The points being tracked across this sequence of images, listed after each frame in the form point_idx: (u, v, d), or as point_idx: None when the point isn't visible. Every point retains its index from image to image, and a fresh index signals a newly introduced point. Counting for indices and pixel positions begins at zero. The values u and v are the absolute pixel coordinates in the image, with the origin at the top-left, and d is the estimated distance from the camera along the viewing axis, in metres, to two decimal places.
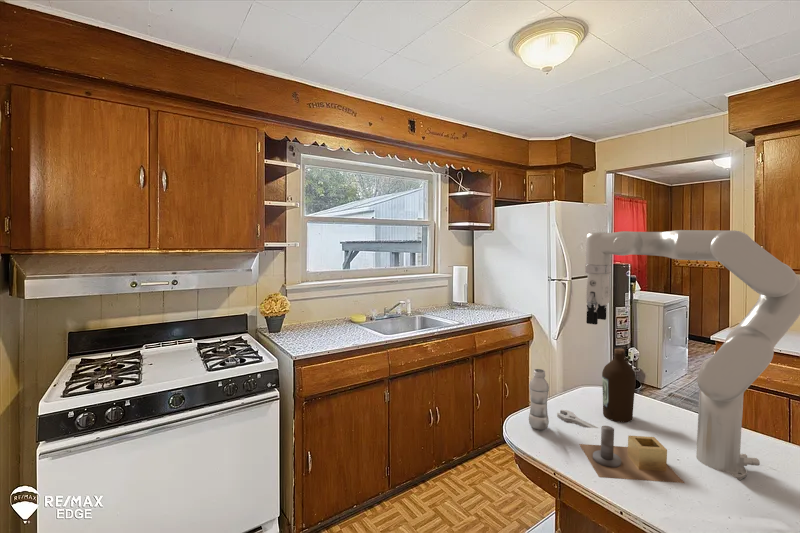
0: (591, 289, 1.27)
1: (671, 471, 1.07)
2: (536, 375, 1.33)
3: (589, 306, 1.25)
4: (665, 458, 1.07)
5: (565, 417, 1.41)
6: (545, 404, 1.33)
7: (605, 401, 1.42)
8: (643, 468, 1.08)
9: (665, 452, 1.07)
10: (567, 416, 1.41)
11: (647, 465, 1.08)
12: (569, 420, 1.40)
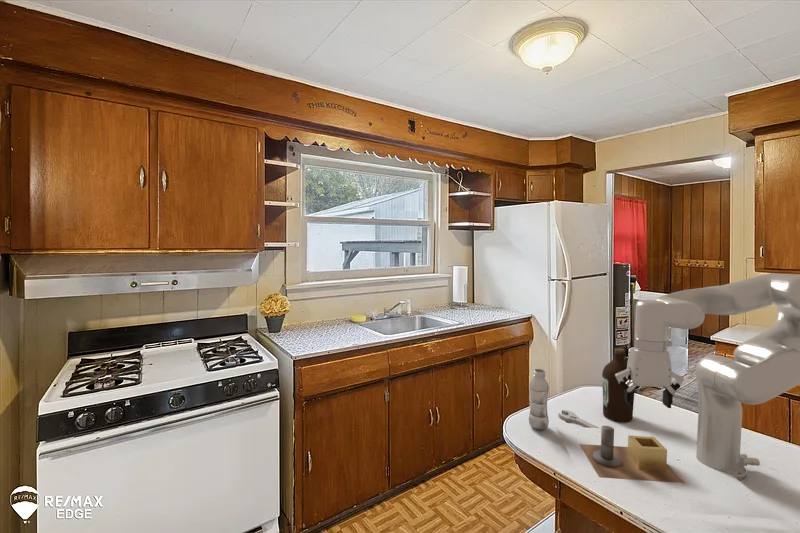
0: None
1: (671, 471, 1.07)
2: (536, 375, 1.33)
3: None
4: (665, 458, 1.07)
5: (566, 417, 1.40)
6: (545, 404, 1.33)
7: (605, 401, 1.42)
8: (643, 468, 1.08)
9: (665, 452, 1.07)
10: (568, 416, 1.41)
11: (647, 465, 1.08)
12: (570, 420, 1.40)
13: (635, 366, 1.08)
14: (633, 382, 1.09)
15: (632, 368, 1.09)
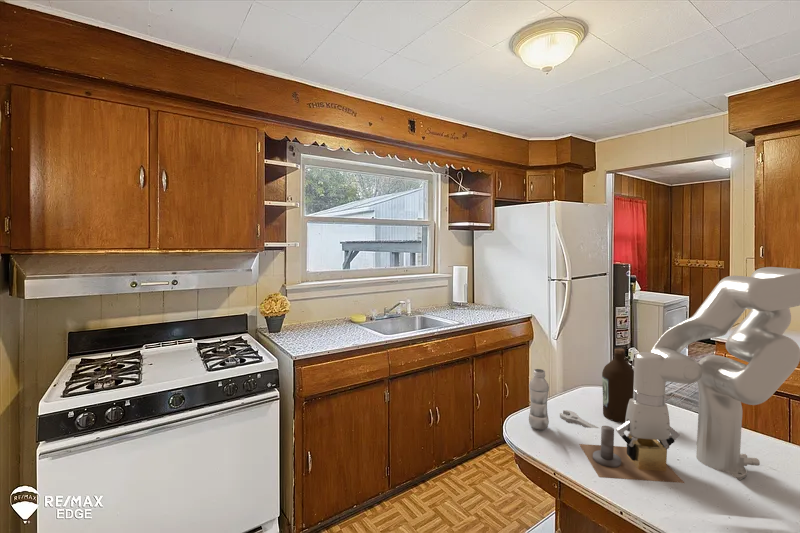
0: None
1: (671, 471, 1.07)
2: (536, 375, 1.33)
3: None
4: (665, 458, 1.07)
5: (567, 417, 1.40)
6: (545, 404, 1.33)
7: (605, 401, 1.42)
8: (643, 468, 1.08)
9: (665, 452, 1.07)
10: (569, 416, 1.41)
11: (647, 465, 1.08)
12: (571, 420, 1.39)
13: (634, 419, 1.09)
14: (632, 434, 1.10)
15: (630, 421, 1.10)
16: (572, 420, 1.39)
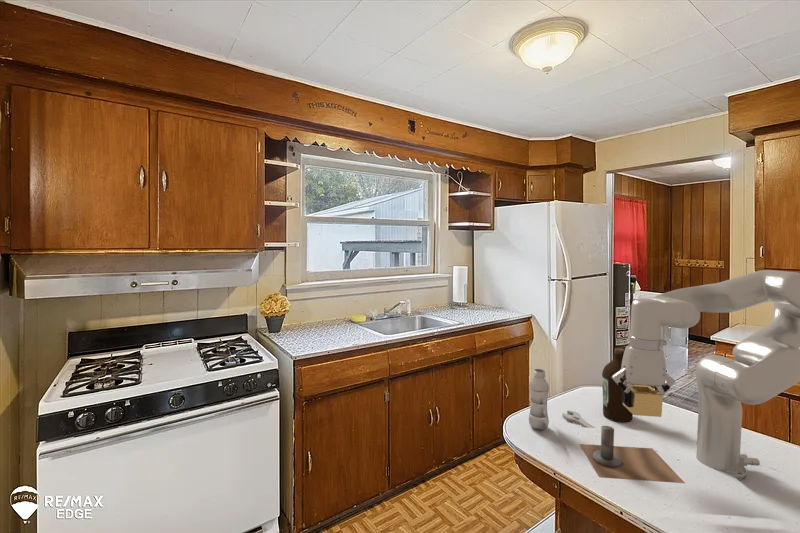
0: None
1: (671, 471, 1.07)
2: (536, 375, 1.33)
3: None
4: (660, 404, 1.06)
5: (569, 417, 1.40)
6: (545, 404, 1.33)
7: (605, 401, 1.42)
8: (638, 414, 1.07)
9: (661, 397, 1.06)
10: (571, 416, 1.41)
11: (642, 411, 1.07)
12: (572, 421, 1.39)
13: (630, 364, 1.08)
14: (627, 380, 1.09)
15: (626, 367, 1.09)
16: (573, 420, 1.39)
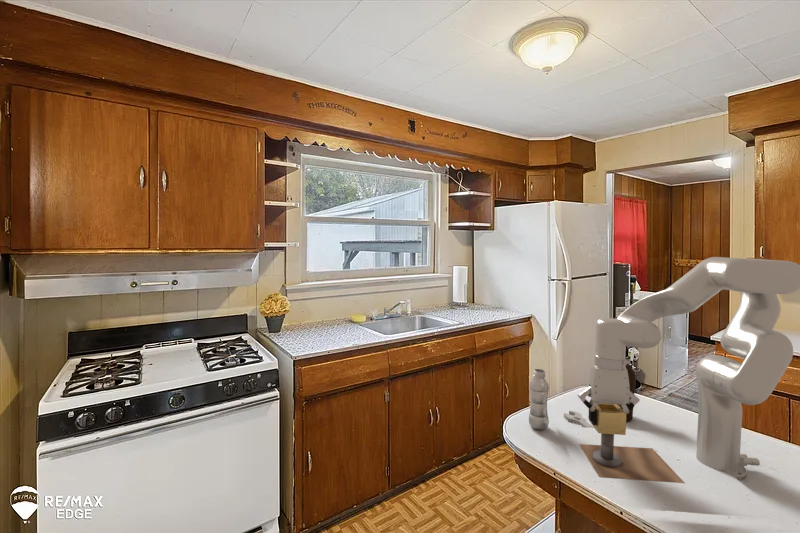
0: None
1: (671, 471, 1.07)
2: (536, 375, 1.33)
3: None
4: (624, 422, 1.08)
5: (569, 417, 1.40)
6: (545, 404, 1.33)
7: None
8: (603, 432, 1.09)
9: (624, 416, 1.08)
10: (572, 417, 1.41)
11: (607, 429, 1.09)
12: (573, 421, 1.39)
13: (594, 383, 1.10)
14: (592, 399, 1.10)
15: (591, 386, 1.11)
16: (574, 420, 1.39)
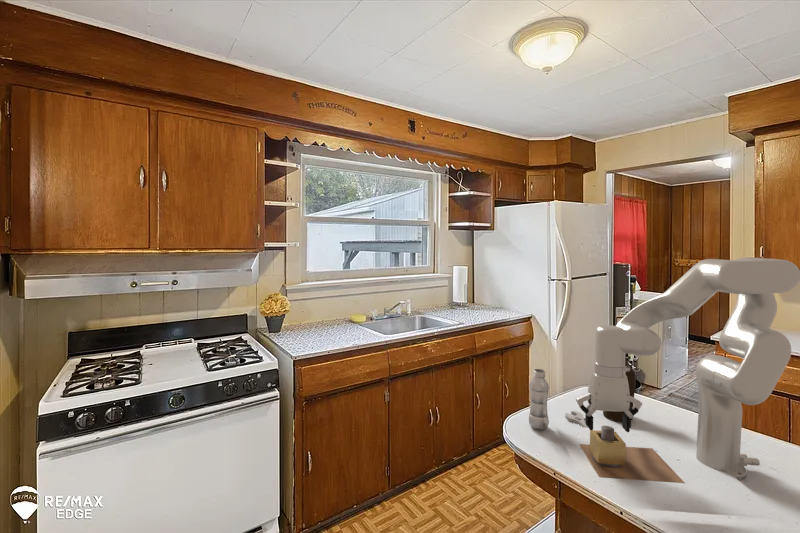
0: None
1: (671, 471, 1.07)
2: (536, 375, 1.33)
3: None
4: (624, 452, 1.09)
5: (570, 417, 1.40)
6: (545, 404, 1.33)
7: None
8: (602, 462, 1.09)
9: (624, 446, 1.08)
10: (573, 417, 1.41)
11: (606, 459, 1.09)
12: (573, 421, 1.39)
13: (594, 391, 1.10)
14: (593, 407, 1.11)
15: (591, 393, 1.11)
16: (574, 420, 1.39)
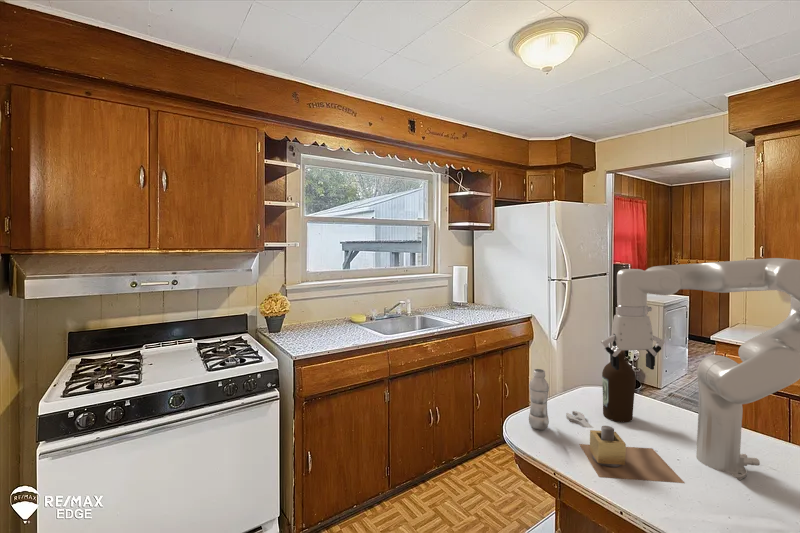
0: None
1: (671, 471, 1.07)
2: (536, 375, 1.33)
3: None
4: (624, 452, 1.09)
5: (571, 417, 1.40)
6: (545, 404, 1.33)
7: (605, 401, 1.42)
8: (602, 462, 1.09)
9: (624, 446, 1.08)
10: (574, 417, 1.41)
11: (606, 459, 1.09)
12: (574, 421, 1.39)
13: (619, 331, 1.15)
14: (618, 347, 1.15)
15: (616, 334, 1.15)
16: (575, 420, 1.39)
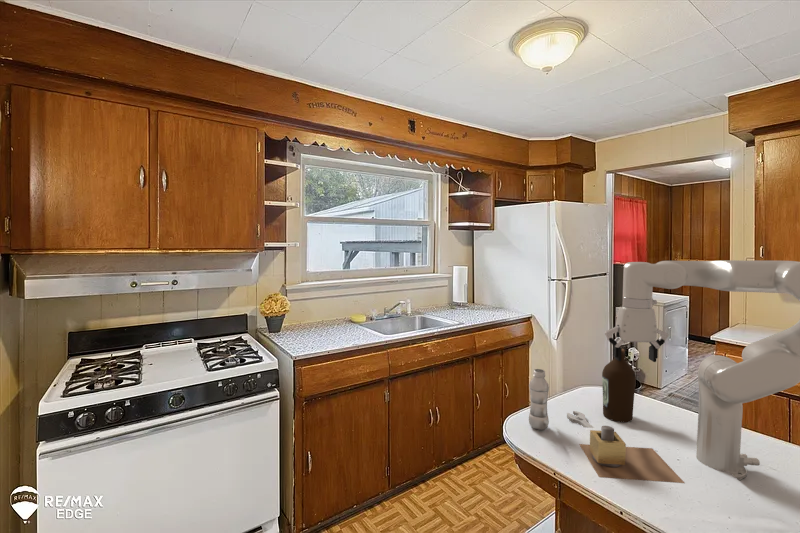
0: None
1: (671, 471, 1.07)
2: (536, 375, 1.33)
3: None
4: (624, 452, 1.09)
5: (572, 417, 1.40)
6: (545, 404, 1.33)
7: (605, 401, 1.42)
8: (602, 462, 1.09)
9: (624, 446, 1.08)
10: (574, 417, 1.41)
11: (606, 459, 1.09)
12: (575, 421, 1.39)
13: (623, 323, 1.16)
14: (621, 338, 1.17)
15: (620, 325, 1.17)
16: (575, 420, 1.39)
